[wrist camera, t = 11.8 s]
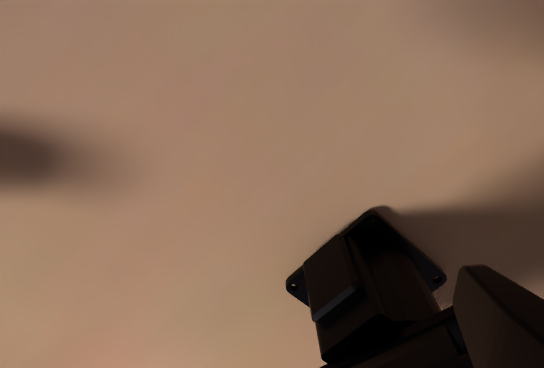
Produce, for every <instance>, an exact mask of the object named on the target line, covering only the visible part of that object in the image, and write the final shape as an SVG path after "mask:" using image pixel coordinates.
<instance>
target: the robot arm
mask: <svg viewBox="0 0 544 368" xmlns="http://www.w3.org/2000/svg"><path fill="white" fill-rule="evenodd" d="M370 219H375V220H374V222H372V223H367V222H368V220H370ZM436 276H439V277H438V278H436V279H434V277H436ZM445 282H446V275H445V274H444V272H443V270H442V269H441V268H440V267H438V266H437V265H436V264H435V263H434V262H433V261H432V260H430V259H429V258H428V257H427V256H426V255H425V254H424V253H423V252H421V251H420V250H419V249H418V248H417V247H416V246H415V245H413V244H412V243H411V242H410V241H409V240H408V239H407V238H406V237H404V236H403V235H402V234H401V233H400V232H399V231H398V230H397V229H395V228H394V227H393V226H392V225H391V224H390V223H389V222H387V221H386V220H385V219H384V218H383V217H382V216H381V215H380V214H378V213H377V212H375V211H367V212H365V213H363V214H362V215H361V216H360V217H359V218H358V219H356V220H355V221H354V222H353V223H352V224H350V225H349V226H348V227H347V228H346V229H345V230H343V231H342V232H341V233H340V234H337V235H335V236H334V237H333V238H332V239H330V240H329V241H328V242H327V243H326V244H325V245H323V246H322V247H321V248H320V249H319V250H317V251H316V252H315V253H314V254H313V255H312V256H310V257H309V258H308V259H307V260H306V261H305V262H304V263H303V265H302V266H301V267H300V268H299V269H298V270H296V271H295V272H294V273H293V274H292V275H291V276H289V277H288V278H287V280H286V290H287V291H288V292H289V293H290V294H291V295H293V296H294V297H296V298H297V299H298V300H300V301H301V302H303V303H304V304H305V305H307V306H308V307H310V311H311V317H312V320H313V321H314V322H315V324H316V330H317V336H318V342H319V347H320V353H321V359H322V360H323V361H325V362H326V363H328V364H326V365H324V366H322V367H320V368H544V299H542V298H540V297H539V296H537V295H535V294H534V293H532V292H530V291H529V290H527V289H525V288H523V287H522V286H520V285H518V284H517V283H515V282H513V281H512V280H510V279H508V278H507V277H505V276H503V275H501V274H500V273H498V272H496V271H495V270H493V269H491V268H490V267H488V266H486V265H482V264H479V265H464V266H462V267H461V268H460V270H459V273H458V278H457V282H456V287H455V292H454V296H453V306H451V307H449V308H446V309H444V310H442V311H441V309H440V307H439V306H438V304H437V302H436V300H435V298H434V296H433V294H432V292H433V291H435V290H436V289H438V288H439V287H440V286H442V285H443V284H444V283H445ZM292 284H298V285H296V286H292Z"/></svg>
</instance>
